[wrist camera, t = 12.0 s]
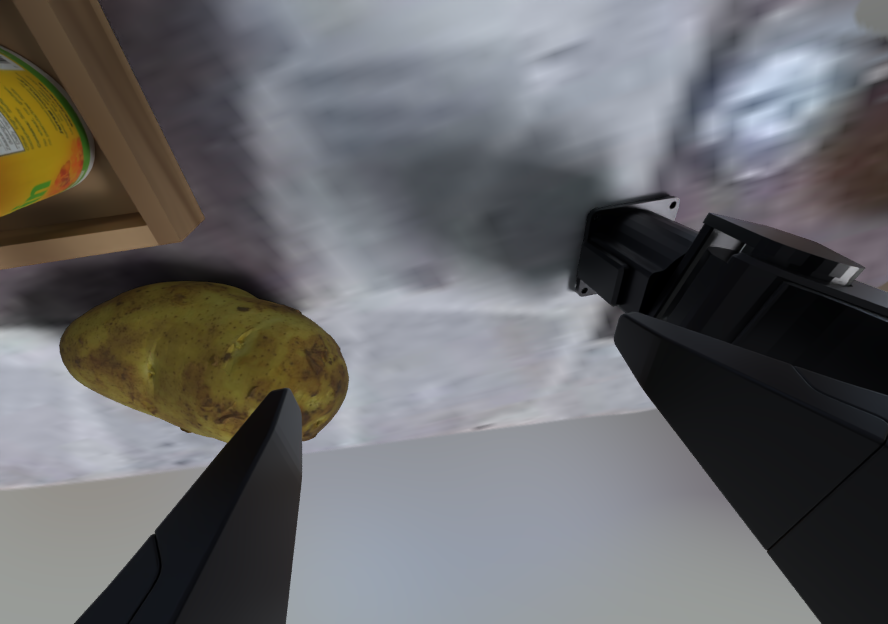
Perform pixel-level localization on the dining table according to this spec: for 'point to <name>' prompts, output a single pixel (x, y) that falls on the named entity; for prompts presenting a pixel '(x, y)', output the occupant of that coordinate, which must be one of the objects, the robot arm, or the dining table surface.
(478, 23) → the dining table surface
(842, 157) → the dining table surface
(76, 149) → the supplement bottle
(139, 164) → the open wooden box
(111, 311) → the potato
